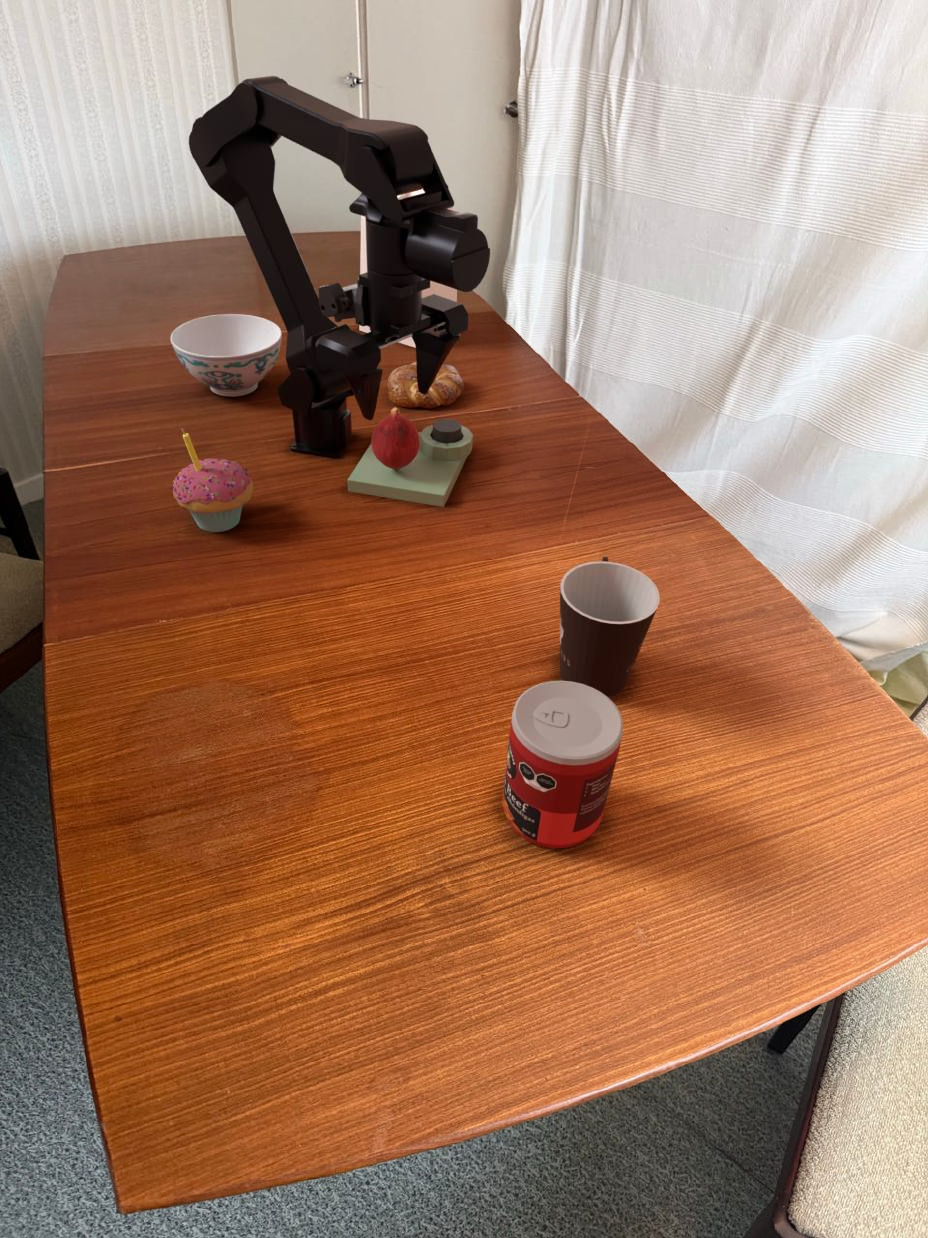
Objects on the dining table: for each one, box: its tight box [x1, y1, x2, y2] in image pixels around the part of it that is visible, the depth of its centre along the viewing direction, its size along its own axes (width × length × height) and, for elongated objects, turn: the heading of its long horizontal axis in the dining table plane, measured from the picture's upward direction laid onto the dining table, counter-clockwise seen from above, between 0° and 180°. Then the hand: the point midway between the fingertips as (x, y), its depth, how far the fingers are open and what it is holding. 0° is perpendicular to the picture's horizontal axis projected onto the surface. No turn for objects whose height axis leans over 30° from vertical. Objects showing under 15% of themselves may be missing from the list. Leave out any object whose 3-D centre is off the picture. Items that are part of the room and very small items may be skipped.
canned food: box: [501, 680, 624, 849], centre depth 63 cm, size 8×8×11 cm
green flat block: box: [347, 424, 474, 508], centre depth 104 cm, size 13×14×4 cm
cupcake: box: [171, 427, 255, 533], centre depth 91 cm, size 9×8×12 cm
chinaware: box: [170, 313, 283, 397], centre depth 118 cm, size 15×15×8 cm
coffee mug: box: [559, 556, 661, 698], centre depth 76 cm, size 12×9×10 cm
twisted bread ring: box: [387, 360, 465, 410], centre depth 120 cm, size 12×11×4 cm
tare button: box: [432, 418, 462, 444], centre depth 105 cm, size 4×4×2 cm
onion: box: [370, 407, 420, 470], centre depth 99 cm, size 6×6×8 cm
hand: (396, 405), depth 96 cm, fingers open, 9 cm apart
